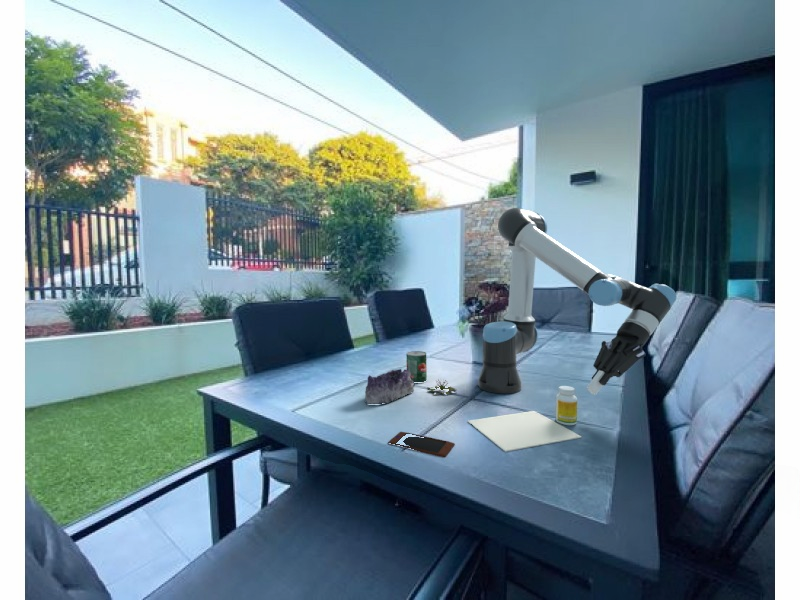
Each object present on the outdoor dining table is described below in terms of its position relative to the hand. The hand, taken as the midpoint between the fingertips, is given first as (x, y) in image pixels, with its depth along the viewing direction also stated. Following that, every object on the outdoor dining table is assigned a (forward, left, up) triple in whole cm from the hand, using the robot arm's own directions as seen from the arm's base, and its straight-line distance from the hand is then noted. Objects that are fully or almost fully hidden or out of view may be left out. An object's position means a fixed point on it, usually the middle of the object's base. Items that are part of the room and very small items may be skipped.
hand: (591, 391), depth 99 cm
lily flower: (-46, +6, -8) cm, 47 cm away
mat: (-17, -15, -8) cm, 24 cm away
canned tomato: (-59, +14, -8) cm, 61 cm away
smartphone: (-38, -34, -8) cm, 52 cm away
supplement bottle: (-6, -6, -8) cm, 12 cm away
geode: (-61, -7, -8) cm, 62 cm away
